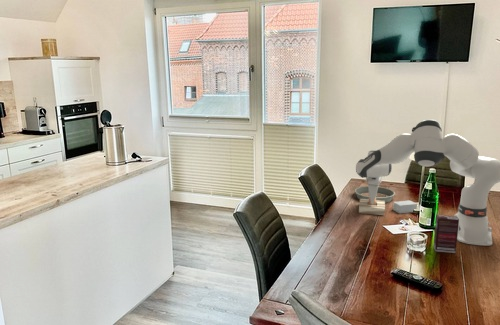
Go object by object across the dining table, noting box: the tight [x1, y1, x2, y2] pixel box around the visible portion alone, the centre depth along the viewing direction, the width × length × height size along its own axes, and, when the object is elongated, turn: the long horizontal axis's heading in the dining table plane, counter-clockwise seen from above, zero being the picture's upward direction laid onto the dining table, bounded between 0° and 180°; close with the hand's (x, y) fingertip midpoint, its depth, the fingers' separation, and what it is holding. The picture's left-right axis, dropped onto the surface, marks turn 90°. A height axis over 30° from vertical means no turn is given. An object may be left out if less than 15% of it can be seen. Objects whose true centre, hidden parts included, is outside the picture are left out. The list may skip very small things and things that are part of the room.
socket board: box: [358, 199, 386, 216], centre depth 227 cm, size 14×14×4 cm
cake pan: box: [354, 185, 396, 204], centre depth 249 cm, size 25×25×4 cm
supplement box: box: [432, 214, 459, 254], centre depth 174 cm, size 9×5×16 cm, turn 74°
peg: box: [368, 198, 376, 205], centre depth 226 cm, size 4×4×9 cm
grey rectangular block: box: [392, 200, 418, 214], centre depth 225 cm, size 11×6×5 cm, turn 104°
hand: (372, 200), depth 226 cm, fingers open, 8 cm apart
